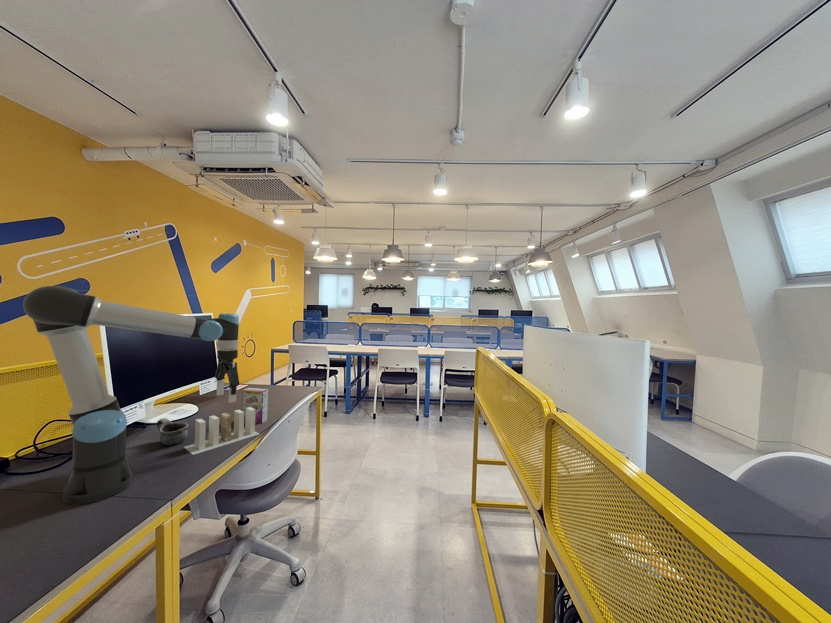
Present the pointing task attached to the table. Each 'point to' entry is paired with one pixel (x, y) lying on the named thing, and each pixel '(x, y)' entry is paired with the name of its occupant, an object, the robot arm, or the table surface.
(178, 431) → the mug
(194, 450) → the mat
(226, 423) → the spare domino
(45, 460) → the table surface
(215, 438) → the domino
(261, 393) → the candy bar box
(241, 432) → the domino
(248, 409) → the domino
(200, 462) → the table surface
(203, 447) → the domino
